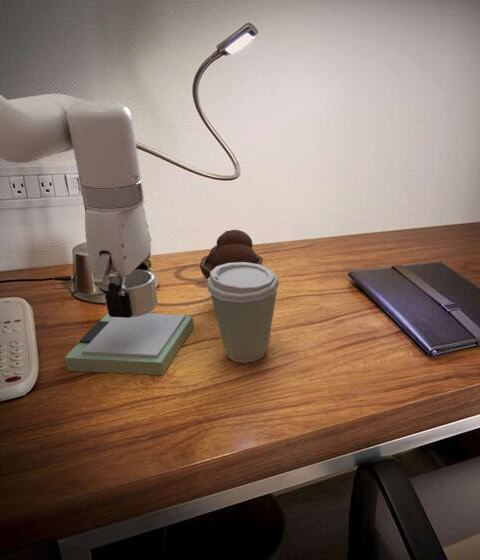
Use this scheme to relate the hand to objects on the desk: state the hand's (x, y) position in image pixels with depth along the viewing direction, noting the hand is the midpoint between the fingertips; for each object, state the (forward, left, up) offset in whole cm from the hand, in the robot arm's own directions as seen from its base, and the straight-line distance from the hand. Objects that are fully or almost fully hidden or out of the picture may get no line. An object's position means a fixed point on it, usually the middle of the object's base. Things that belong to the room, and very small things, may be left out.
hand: (132, 303), depth 82 cm
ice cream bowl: (+11, +15, -8) cm, 21 cm away
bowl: (0, 0, -1) cm, 1 cm away
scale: (-1, 0, -8) cm, 8 cm away
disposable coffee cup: (+17, 0, -8) cm, 19 cm away
